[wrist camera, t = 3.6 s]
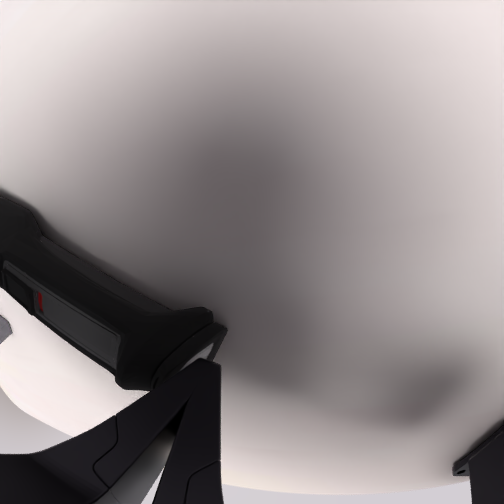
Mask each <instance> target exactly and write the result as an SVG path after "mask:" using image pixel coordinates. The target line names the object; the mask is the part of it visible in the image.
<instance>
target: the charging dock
mask: <svg viewBox="0 0 504 504" xmlns="http://www.w3.org/2000/svg"><path fill="white" fill-rule="evenodd" d="M11 334H12V331H11V328H10V326H9V323H8V321H6V320H5V319H4V318H3V317H1V316H0V344H1V343H2V342H3V341H4V340H5V339H6V338H7V337H8V336H9V335H11Z"/></svg>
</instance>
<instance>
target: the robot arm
mask: <svg viewBox="0 0 504 504" xmlns="http://www.w3.org/2000/svg"><path fill="white" fill-rule="evenodd" d="M220 460H221V365H220V364H218V363H215V362H212V361H210V360H207V359H204V358H201V357H200V358H198V359H196V360H195V361H193V362H192V363H191V364H189V365H188V366H186V367H185V368H183V369H182V370H181V371H179V372H178V373H176V374H175V375H173V376H172V377H170V378H169V379H168V380H166V381H165V382H163V383H162V384H160V385H159V386H157V387H156V388H154V389H153V390H151V391H150V392H149V393H147V394H146V395H144V396H143V397H141V398H140V399H138V400H137V401H135V402H134V403H132V404H131V405H129V406H127V407H126V408H124V409H123V410H121V411H120V412H118V413H117V414H116V416H115V415H113V416H112V417H110V418H109V419H107V420H106V421H104V422H102V423H101V424H99V425H97V426H96V427H94V428H92V429H90V430H88V431H86V432H84V433H82V434H80V435H78V436H76V437H73V438H71V439H69V440H67V441H64V442H62V443H60V444H57V445H55V446H53V447H50V448H48V449H45V450H42V451H39V452H35V453H30V454H0V504H141V503H142V501H143V499H144V498H145V496H146V495H147V493H148V492H149V490H150V488H151V487H152V485H153V484H154V482H155V480H156V479H157V477H158V476H159V474H160V473H161V471H162V469H163V468H164V470H163V473H162V476H161V479H160V482H159V485H158V488H157V491H156V494H155V497H154V500H153V502H152V504H224V501H223V494H222V486H221V461H220ZM164 466H165V467H164ZM452 474H453V476H470V485H471V495H472V504H504V425H503V426H502V427H501V428H500V429H499V430H498V431H497V432H495V433H494V434H493V435H492V436H491V437H490V438H489V439H487V440H486V441H485V442H484V443H483V444H482V445H480V446H479V447H478V448H477V449H475V450H474V451H473V452H472V453H470V454H469V455H468V456H467V457H465V458H464V459H463V460H461V461H460V462H459V463H457V464H456V465H455V466H453V467H452Z"/></svg>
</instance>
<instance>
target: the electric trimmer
mask: <svg viewBox="0 0 504 504" xmlns="http://www.w3.org/2000/svg"><path fill="white" fill-rule="evenodd" d="M0 287H1V288H2V289H4V290H5V291H6V292H7V293H8V294H9V295H11V296H12V297H13V298H14V299H15V300H16V301H17V302H18V303H19V304H21V305H22V306H23V307H24V308H25V309H26V310H27V311H28V313H29V314H30V315H33V316H35V317H36V318H37V319H38V320H40V321H41V322H42V323H43V324H45V325H46V326H47V327H48V328H50V329H51V330H52V331H53V332H55V333H56V334H57V335H59V336H60V337H61V338H63V339H64V340H65V341H67V342H68V343H69V344H71V345H72V346H73V347H75V348H76V349H77V350H79V351H80V352H82V353H83V354H85V355H86V356H87V357H89V358H90V359H92V360H93V361H95V362H96V363H98V364H99V365H101V366H102V367H104V368H105V369H107V370H108V371H109V372H111V373H112V374H113V375H114V376H115V382H116V383H117V384H118V385H119V386H120V387H121V388H123V389H125V390H143V391H151V390H153V389H154V388H156V387H157V386H159V385H160V384H162V383H163V382H165V381H166V380H168V379H169V378H170V377H172V376H173V375H175V374H176V373H178V372H179V371H181V370H182V369H183V368H185V367H186V366H188V365H189V364H191V363H192V362H193V361H195V360H196V359H198V358H200V357H201V358H204V359H207V360H210V361H212V360H213V358H214V356H215V355H216V353H217V351H218V349H219V347H220V345H221V343H222V341H223V339H224V337H225V335H226V333H227V331H228V330H227V328H225V327H223V326H221V325H220V324H218V323H213V314H212V311H210V310H208V309H206V308H204V307H196V308H190V309H184V310H178V311H172V310H170V309H168V308H166V307H164V306H162V305H160V304H158V303H156V302H154V301H152V300H151V299H149V298H147V297H145V296H143V295H141V294H139V293H138V292H136V291H134V290H132V289H130V288H129V287H127V286H125V285H123V284H121V283H120V282H118V281H116V280H114V279H113V278H111V277H109V276H107V275H106V274H104V273H102V272H101V271H99V270H97V269H95V268H94V267H92V266H90V265H89V264H87V263H85V262H84V261H82V260H80V259H79V258H77V257H75V256H74V255H72V254H71V253H69V252H67V251H66V250H64V249H63V248H61V247H59V246H58V245H56V244H55V243H53V242H52V241H50V240H48V239H47V238H45V237H44V236H43V235H42V233H41V231H40V229H39V227H38V225H37V223H36V221H35V219H34V216H33V214H32V213H31V212H30V211H29V210H28V209H26V208H24V207H22V206H20V205H18V204H16V203H14V202H12V201H10V200H8V199H6V198H4V197H1V196H0Z"/></svg>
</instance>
